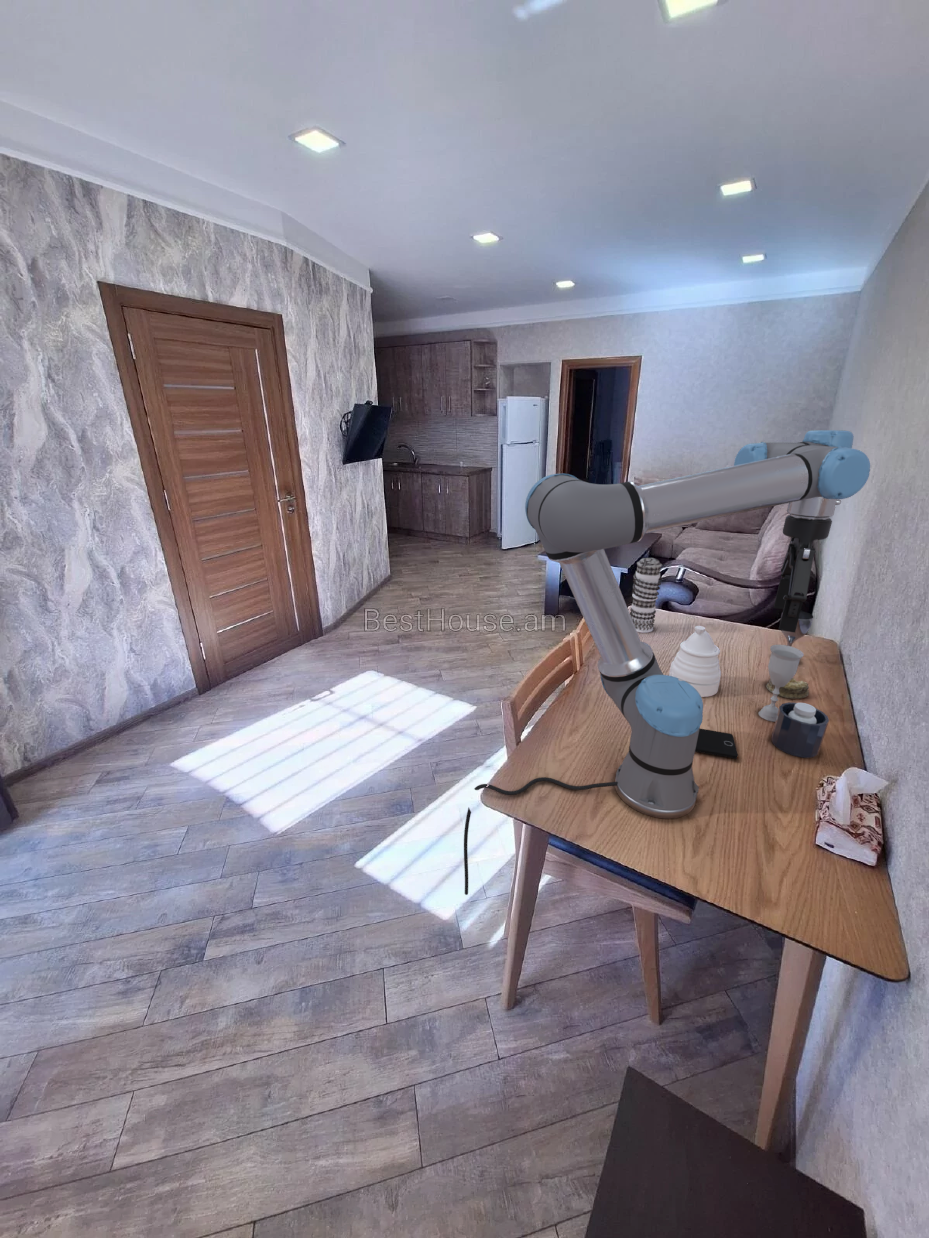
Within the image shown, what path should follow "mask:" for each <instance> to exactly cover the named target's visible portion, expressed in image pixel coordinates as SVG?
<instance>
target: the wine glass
mask: <svg viewBox="0 0 929 1238" xmlns="http://www.w3.org/2000/svg"><path fill="white" fill-rule="evenodd" d="M782 613H783V610H782V611H781V615H780V619H779V622H780V621H781V617H782ZM813 620H814V615H813V614H812V613H810V612H807V611H804V610H801V611H800V615H799V619H798V623H797V627H796V630H795V632H788V631H782V630H780V631H781V633H782V635H783V636H784V637H785V639H786V642H787V643H786V644H787V646H791V647H793V644H794V643H795V642H796V641H797V640H799V639H801V638H803V637H804V636H806V635H807V633H809V631H810V629H811V626H812V624H813Z"/></svg>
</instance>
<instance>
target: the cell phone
mask: <svg viewBox="0 0 929 1238" xmlns="http://www.w3.org/2000/svg"><path fill="white" fill-rule="evenodd" d="M695 753H699V754H700V753H702V754H706V755H713V756H718V757H724V758H729V759H734V760H738V756H739V754H738V750H737V746H736V743H735V739H734V735H733V734H732V733H729V732H723V731H718V730H717V731H716V730H712V729H704V728H700V729H699V734H698V739H697V744H696V749H695Z"/></svg>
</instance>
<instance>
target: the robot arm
mask: <svg viewBox="0 0 929 1238" xmlns="http://www.w3.org/2000/svg"><path fill="white" fill-rule="evenodd" d="M854 438H855V437H854V434H853V432H852V431H851V430H840V429H816V430H814V429H813V430H808V431H807V432H805V434H804V438H803V440H802V441H798V442H766V441H765V442H764V441H760V442H755V443H754V442H751V443H747V444H745V445H743V446H742V447H741V448H740V450H739V451H738V452H737V454H736V456H735V458H734V463H733V465H731V466H727V467H722V468H717V469H712V470H708V471H703V472H699V473H694V474H688V475H683V476H679V477H675V478H669V479H665V480H660V481H655V482H651V483H646V484H641V485H637V484H635V483H634V482H632V481H630V480H629V481H624V482H618V483H610V484H599V483H591V482H587V481H584V480H582V479H580V478H577V477H576V476H575V475H572V474H569V473H552V474H549V475H546V476H544V477H542V478H541V479H539V480H537V482H535V483H534V484H533V486H532V487H531V488H530V489H529V491H528V493H527V496H526V498H525V503H524V510H525V516H526V520H527V522H528V524H529V525H530V527H532V529H533V530H535V532H536V534H537V536H538V538H539V541H540V543H541V545H542V547H543V549H544V551H545V553H546V556H547V558H548V560H549V561H551V562H555V563H559V565H560V568H561V570H562V573H563V575H564V577H565V580H566V581H567V583H568V586H569V588H570V590H571V593H572V595H573V597H574V599H575V602H576V604H577V607H578V608H579V610H580V613H581V615H582V617H583V619H584V620H583V621H584V622H585V624H586V626H587V629H588V631H589V633H590V635H591V638H592V640H593V642H594V644H595V647H596V649H597V651H598V653H599V656H600V657H599V658H598V660H597V663H596V664H597V669H598V671H599V674H600V675H599V676H600V681H601V684H602V688H603V690H604V691H605V693H606V694H607V696H608V697H609V698H610V699H611V700H612V702H613V703H614V704H615V706H616V707H617V709H618V710H619V711H620V713H621V714H622V716H623V717H624V719H625V720H626V722H627V723H628V725H629V726H630V729H631V732H630V740H629V747H628V752H627V753H626V755H625V757H624V758H623V761H622V762H621V764H620V765H619V767H618V768H617V770H616V772H615V779H614V780H615V781H609V782H598V783H591V784H586V785H571V784H569V783H568V784H567V783H565V782H562V781H560V780H557V779H554V778H551V777H547V776H546V777H544V776H543V777H542V776H541V777H537V778H533V779H532V780H530V781H529V782H527V783H526V784H525V785H524V786H523V787H521V788H518V789H517V790H505V789H502V788H500V787H497V786H495V785H492V784H489V786H488V787H486V786H487V784H488V783H480V784H478V785H476V786H475V787H474V788H473V790H475V791H479V790H481V789H489V790H492V791H495V792H497V793H498V794H499V793H500V794H502V795H506V796H517V795H519V794H522V793H524V792H525V791H527V790H528V789H529V788H531V787H533V785H534V784H536V783H540V782H548V783H552V784H556V785H557V786H559V787H562V788H565V789H568V790H574V791H585V790H590V789H596V788H597V789H598V788H606V787H614V788H615V791H616V793H617V795H618V796H619V798H620V799H621V800H622V801H623V802H624V803H625V804H626V805H628V806H629V807H630V808H632V809H633V810H635V811H637V812H639V813H641V814H643V815H646V816H649V817H653V818H658V819H678V818H682V817H685V816H687V815H688V814H690V813H691V812H692V811H693V810H694V808H695V805H696V800H697V798H698V794H699V791H700V787H699V785H698V784H697V783H696V782H695V776H694V771H693V762H694V759H695V753H696V752H695V749H696V744H697V739H698V734H699V729H701V725H702V724H703V720H704V719H703V711H704V702H703V697H701V696H700V694H699V693H698V691H697V690H696V689H695V688H694V687H693V686H692V685H690V684H689V683H687V682H685V681H679V679H678V678H676V677H673V676H669V674H664V672H662V671H663V670H661V668H660V665H659V662H658V660H657V657H656V655H655V653H654V650H653V648H652V646H651V645H650V644H648V643H647V642H645V641H642V640H641V638H640V636H639V632H637V631H636V628H635V626H634V623H633V621H632V618H631V615H630V611H629V608H628V605H627V604H626V600H625V599H624V596H623V594H622V591H621V588H620V586H619V583H618V581H617V579H616V576H615V573H614V570H613V568H612V565H611V563H610V560H609V558H608V555H607V553H606V551H605V550H606V549H611V548H616V547H621V546H625V545H629V544H635V543H639V542H640V541H641V540H642V539H643V538H644V536H645V535H646V534H650V533H656V532H660V531H664V530H669V529H674V528H678V527H683V526H687V525H692V524H697V523H701V522H707V521H711V520H715V519H720V518H724V517H729V516H733V515H734V516H735V515H738V514H744V513H748V512H752V511H753V512H754V511H756V510H761V509H766V508H771V507H777V506H780V505H781V506H782V505H784V504H788V505H787V510H786V512H787V513H788V515H787V516H785V520H784V524H783V527H782V534H783V535H784V536H785V537H788V538H790V541H789V544H788V545H787V549H786V550H787V551H786V554H785V556H784V560H783V563H782V566H781V568H780V573H781V574H780V579H779V583H778V588H777V591H776V596H775V599H774V603H773V609H780V610H782V611H783V613H782V612H781V614H782V617H781V616H780V619H781V621H780V620H779V626H778V631H781V630H782V631H788V632H795V630H796V627H797V623H798V619H799V615H800V611H802V607H803V603H804V602H807V600H808V597H807V596H808V591H809V586H810V585H809V584H810V581H811V579H810V578H811V574H812V568H813V562H814V557H815V554H816V548H815V547H814V545H813V542H814V541H821V540H825V539H827V538H828V537H829V536H830V531H831V529H832V524H833V520H832V518H831V517H833V516H834V515H835V512H836V508H837V507H836V506H839V505H841V503H842V501H841V500H845V499H849V498H851V497H853V496H855V495H856V494H858V493H859V492H860V491H861V490H862V489H863V488H864V487H865V485H866V484H867V481H868V480H869V477H870V471H871V461H870V459H869V457H868V455H867V453H865V452H864V451H863V450H859V449H857V448H853V445H854ZM471 814H472V811H471V809H470V807H469V806H468V808H467V812H466V818H465V821H464V822H465V823H464V831H463V833H464V834H463V864H464V865H463V866H464V867H463V868H464V869H463V870H464V895H465V896H468V895H469V859H468V856H469V855H468V839H469V838H468V837H469V827H470V820H471Z"/></svg>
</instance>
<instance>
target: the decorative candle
mask: <svg viewBox="0 0 929 1238" xmlns="http://www.w3.org/2000/svg"><path fill="white" fill-rule="evenodd" d="M661 567H663V564H662V563H661V562H660V560H659V559H658V558H654V557H643V558H641V559H640V560H639V561H637V562H636V570H635V573H634V574H633V577H632V578H633V579H632V583H633V584H632V590H631V592H632V593H631V594H632V603H631V607H630V611H629V613H630V616H631V618H632V621H633V623H634V626H635V628H636V631H637V633H643V634H645V633H651V632H653V631H654V627H655V624H654V623H655V618H656V615H655V614H656V613H657V610H656V604H657V600H658V599H659V595H660V593H659V592H658V591H660V589H661V587H660V586H661V585H662V583H661V582H660V581H661V580H662V579H663V577H662V576H661Z"/></svg>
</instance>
